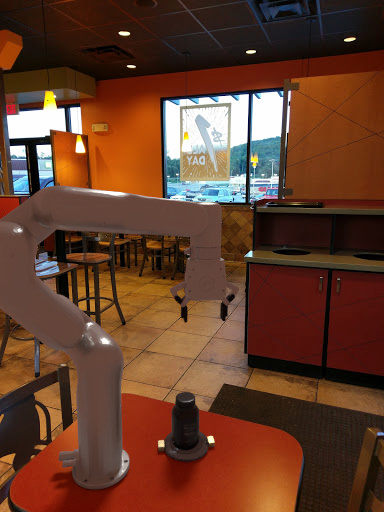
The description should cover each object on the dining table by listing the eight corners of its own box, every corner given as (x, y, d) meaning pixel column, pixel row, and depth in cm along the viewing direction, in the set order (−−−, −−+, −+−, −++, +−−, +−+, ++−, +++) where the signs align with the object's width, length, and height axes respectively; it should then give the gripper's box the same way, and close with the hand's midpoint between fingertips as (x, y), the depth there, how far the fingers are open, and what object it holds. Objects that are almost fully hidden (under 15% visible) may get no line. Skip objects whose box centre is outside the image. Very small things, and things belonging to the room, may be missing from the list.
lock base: (159, 464, 83) (159, 459, 83) (157, 433, 94) (157, 429, 93) (218, 459, 85) (218, 454, 85) (209, 429, 96) (209, 425, 95)
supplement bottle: (201, 434, 92) (202, 391, 90) (196, 453, 85) (196, 406, 83) (175, 431, 93) (175, 388, 91) (168, 448, 86) (168, 402, 84)
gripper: (171, 256, 83) (171, 326, 86) (243, 255, 86) (241, 324, 88) (169, 251, 91) (168, 316, 93) (235, 250, 93) (233, 314, 96)
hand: (204, 320), depth 91 cm, fingers open, 9 cm apart
